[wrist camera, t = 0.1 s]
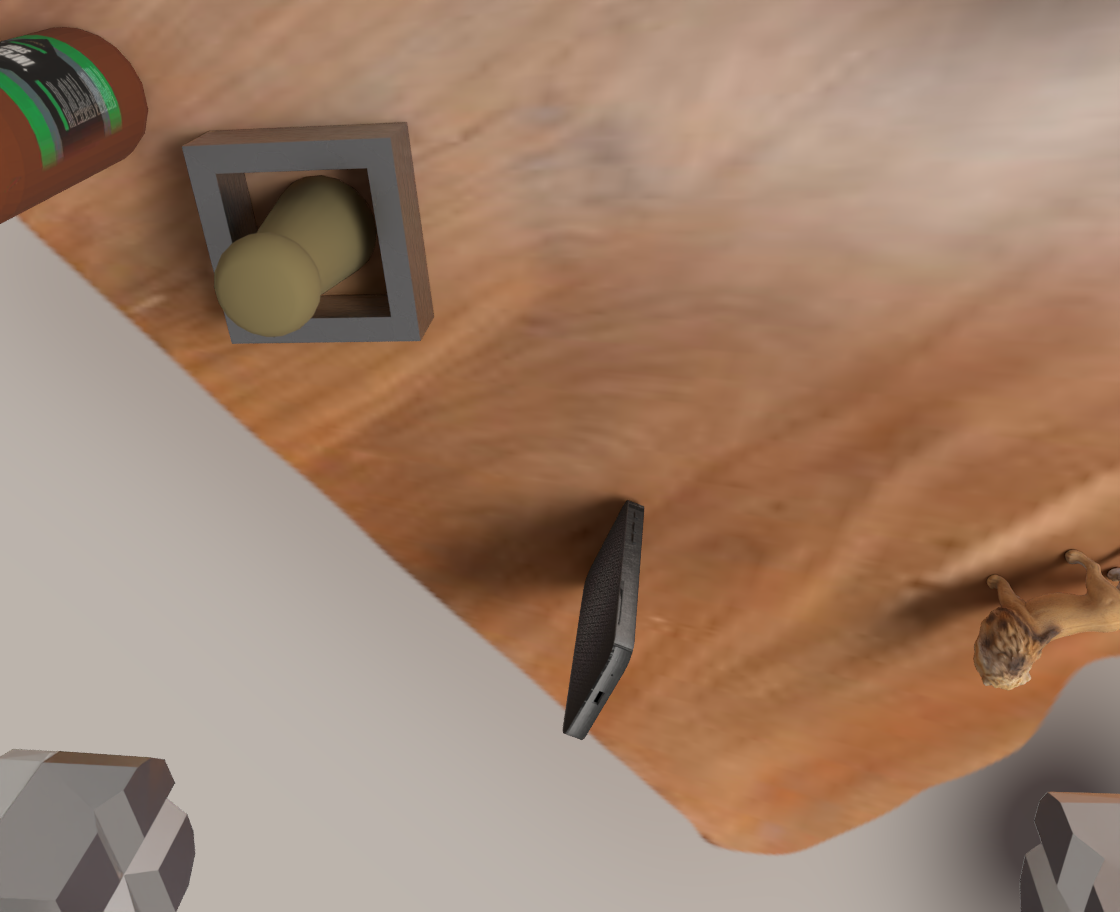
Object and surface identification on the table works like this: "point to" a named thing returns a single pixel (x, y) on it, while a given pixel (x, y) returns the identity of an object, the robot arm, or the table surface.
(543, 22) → the table surface
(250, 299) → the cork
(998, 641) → the lion figurine
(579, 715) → the phone
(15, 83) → the bottle
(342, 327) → the grey square tray
